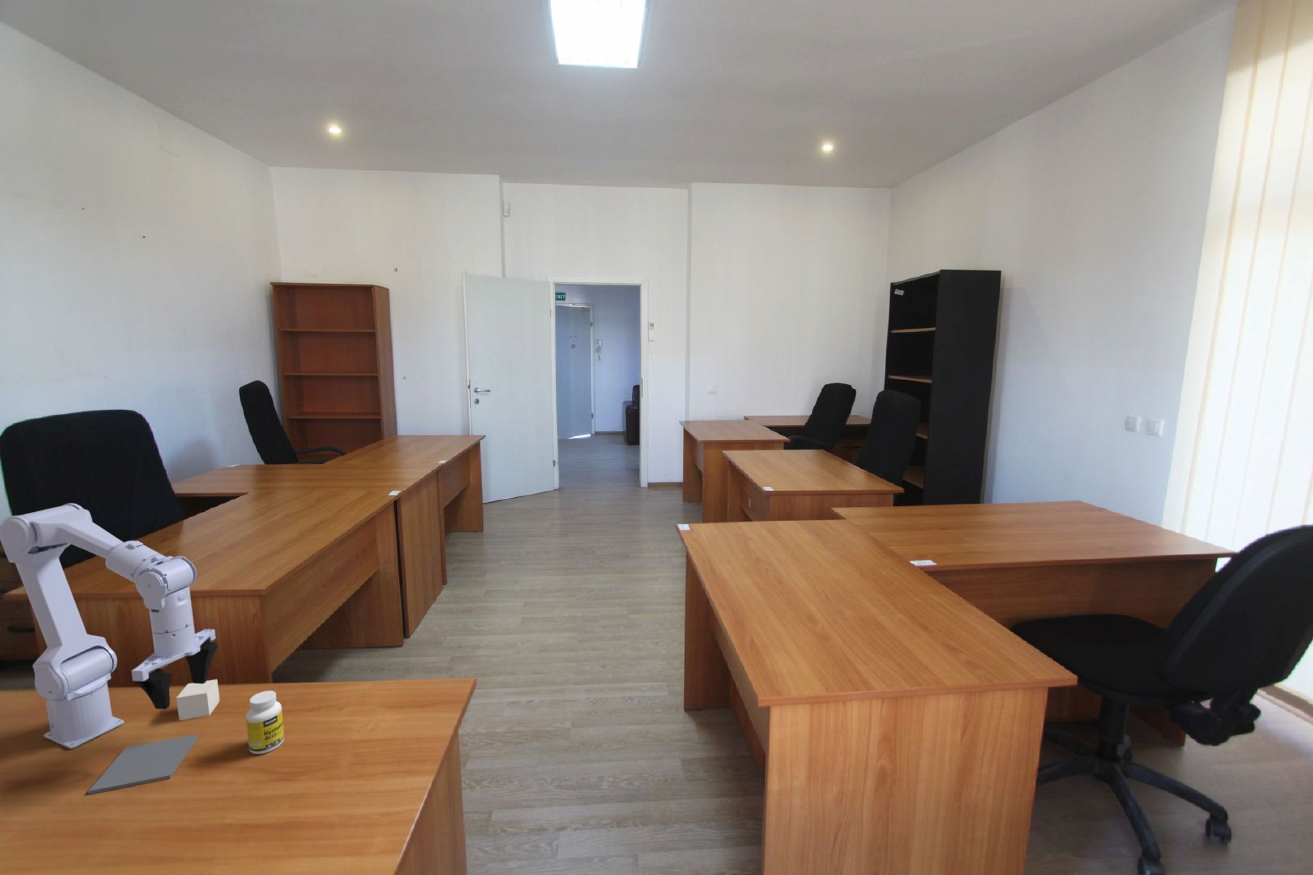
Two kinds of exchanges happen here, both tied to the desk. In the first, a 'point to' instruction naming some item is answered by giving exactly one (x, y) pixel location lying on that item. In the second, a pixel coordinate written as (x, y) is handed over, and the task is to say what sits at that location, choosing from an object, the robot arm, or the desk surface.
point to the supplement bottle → (264, 723)
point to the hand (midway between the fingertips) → (181, 694)
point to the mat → (144, 764)
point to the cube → (198, 700)
